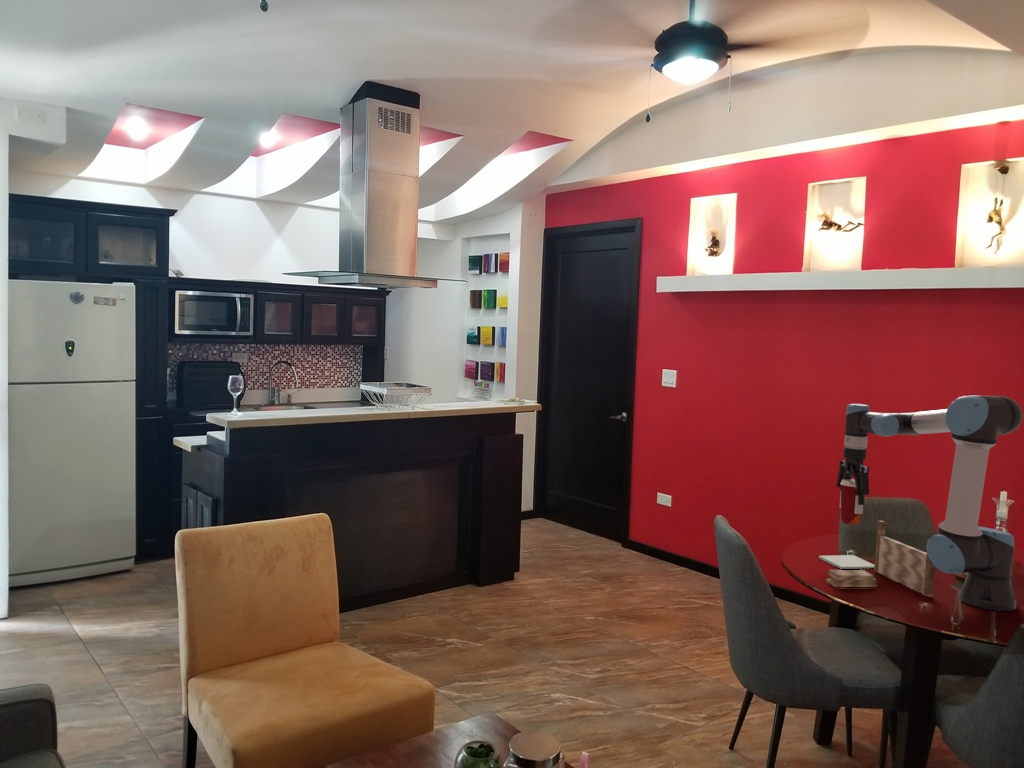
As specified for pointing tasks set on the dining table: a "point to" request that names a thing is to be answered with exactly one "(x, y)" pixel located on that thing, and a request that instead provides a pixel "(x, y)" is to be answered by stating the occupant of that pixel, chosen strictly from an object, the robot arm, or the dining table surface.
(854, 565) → the sage board
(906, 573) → the brown flat upright panel
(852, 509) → the coffee cup
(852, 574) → the offcut stack
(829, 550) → the dining table surface
